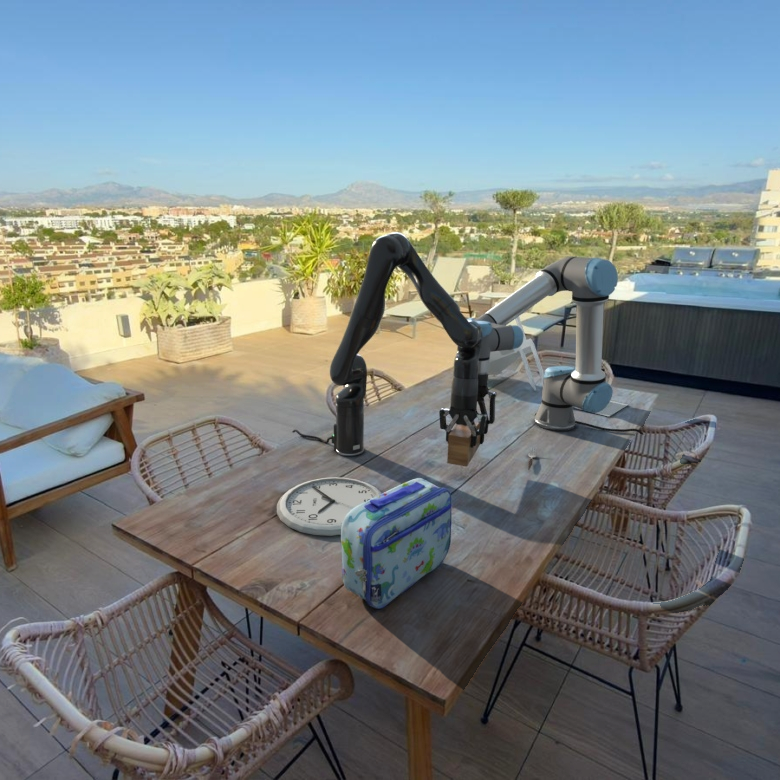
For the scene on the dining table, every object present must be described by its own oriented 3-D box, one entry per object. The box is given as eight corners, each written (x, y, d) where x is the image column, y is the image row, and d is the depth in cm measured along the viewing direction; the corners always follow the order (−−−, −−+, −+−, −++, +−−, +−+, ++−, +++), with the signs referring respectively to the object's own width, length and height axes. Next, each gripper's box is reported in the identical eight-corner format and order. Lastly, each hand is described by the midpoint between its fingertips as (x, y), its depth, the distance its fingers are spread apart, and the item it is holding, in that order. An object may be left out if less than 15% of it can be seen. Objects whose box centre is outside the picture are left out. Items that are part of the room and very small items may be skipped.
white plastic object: (482, 419, 265) (461, 396, 241) (463, 346, 287) (443, 319, 263) (553, 395, 253) (539, 368, 228) (528, 321, 275) (513, 290, 250)
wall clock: (392, 527, 129) (268, 531, 127) (391, 533, 130) (269, 537, 127) (383, 473, 158) (282, 475, 155) (383, 478, 158) (282, 480, 156)
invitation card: (608, 416, 214) (573, 407, 224) (608, 416, 214) (573, 408, 224) (628, 404, 229) (594, 396, 238) (628, 405, 229) (594, 397, 238)
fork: (524, 470, 165) (524, 465, 164) (529, 451, 179) (529, 446, 179) (532, 472, 164) (533, 466, 163) (537, 452, 178) (537, 447, 178)
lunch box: (370, 622, 101) (370, 527, 94) (335, 595, 108) (333, 505, 102) (455, 565, 118) (460, 481, 112) (420, 544, 125) (423, 465, 119)
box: (465, 436, 173) (466, 411, 170) (483, 439, 171) (485, 413, 168) (447, 463, 154) (448, 434, 151) (467, 466, 152) (468, 437, 149)
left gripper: (436, 391, 149) (434, 445, 154) (486, 398, 144) (482, 453, 149) (443, 384, 155) (441, 436, 160) (492, 390, 150) (487, 444, 155)
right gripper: (443, 371, 162) (439, 440, 168) (504, 378, 155) (498, 450, 162) (449, 365, 168) (446, 432, 175) (509, 372, 162) (503, 441, 168)
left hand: (461, 444), depth 155 cm, fingers open, 6 cm apart
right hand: (471, 440), depth 168 cm, fingers closed on box, 6 cm apart
